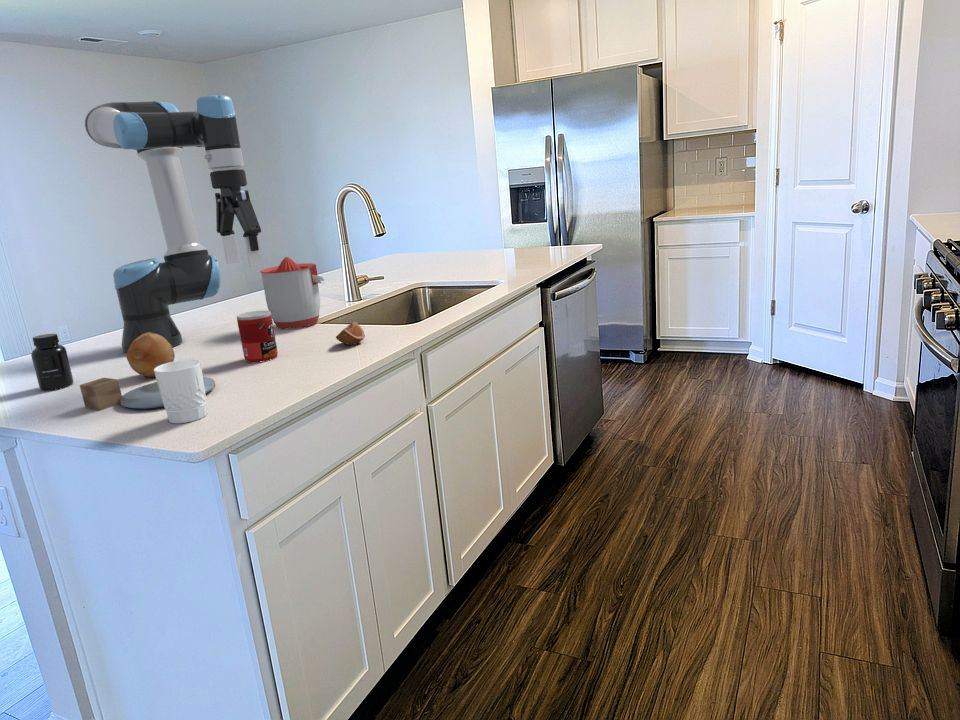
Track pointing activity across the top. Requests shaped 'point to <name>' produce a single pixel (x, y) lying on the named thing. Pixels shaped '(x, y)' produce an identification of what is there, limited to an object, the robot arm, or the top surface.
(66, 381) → the supplement bottle
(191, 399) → the white cup
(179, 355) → the top surface
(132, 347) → the onion
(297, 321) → the citrus juicer
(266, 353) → the canned food
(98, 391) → the walnut block
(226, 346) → the top surface
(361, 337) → the fruit slice
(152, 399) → the plate
